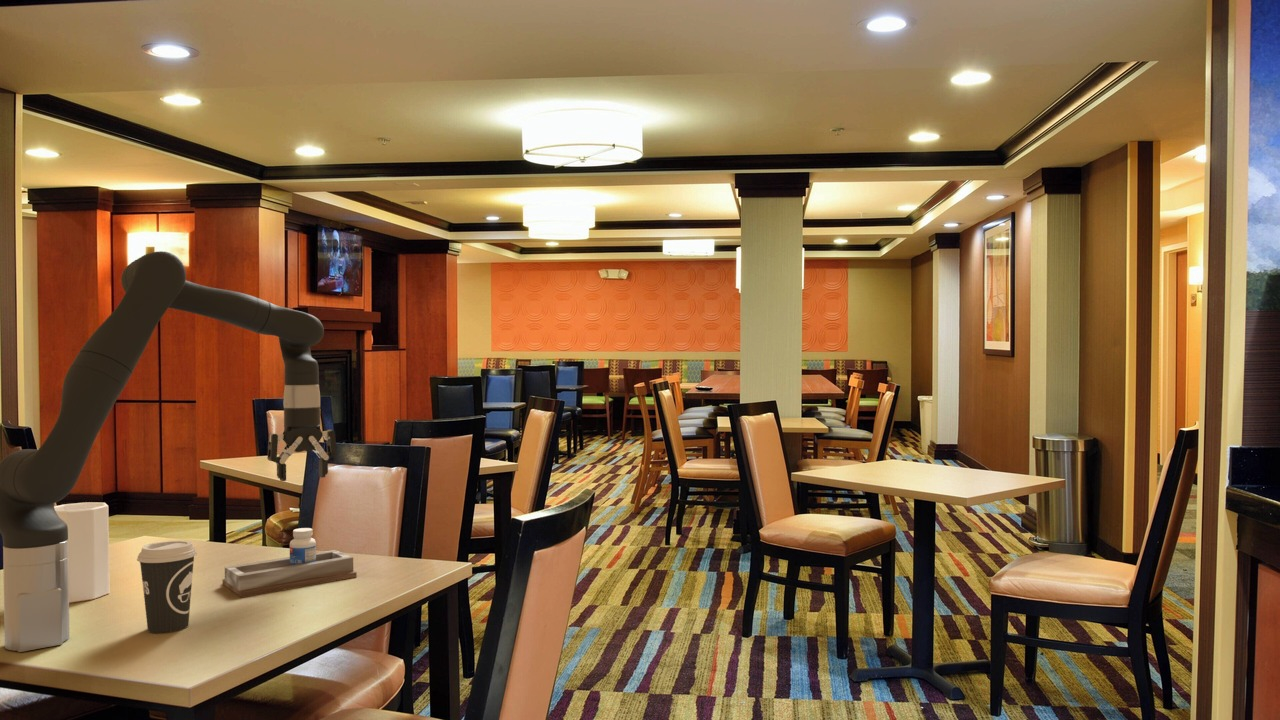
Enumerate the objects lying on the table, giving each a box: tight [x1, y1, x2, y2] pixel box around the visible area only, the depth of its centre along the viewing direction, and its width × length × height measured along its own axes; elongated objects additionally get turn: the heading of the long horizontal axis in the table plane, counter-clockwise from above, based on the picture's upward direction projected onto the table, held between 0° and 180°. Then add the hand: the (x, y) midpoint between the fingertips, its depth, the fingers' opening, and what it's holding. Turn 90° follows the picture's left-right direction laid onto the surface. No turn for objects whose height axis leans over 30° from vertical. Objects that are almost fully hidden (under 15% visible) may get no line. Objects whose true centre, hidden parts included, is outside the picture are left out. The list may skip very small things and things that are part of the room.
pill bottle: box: [289, 527, 317, 566], centre depth 193 cm, size 6×5×10 cm
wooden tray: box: [222, 549, 358, 598], centre depth 191 cm, size 14×24×4 cm, turn 130°
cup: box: [54, 501, 110, 604], centre depth 180 cm, size 11×11×18 cm
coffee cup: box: [136, 540, 198, 634], centre depth 158 cm, size 10×10×15 cm
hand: (302, 478), depth 193 cm, fingers open, 8 cm apart
